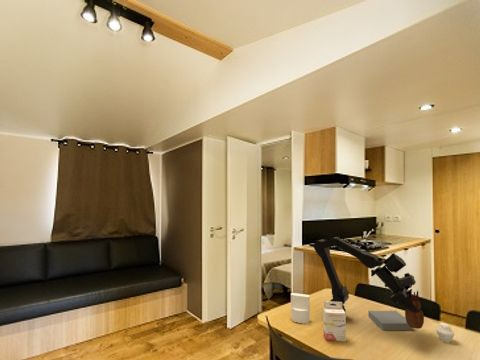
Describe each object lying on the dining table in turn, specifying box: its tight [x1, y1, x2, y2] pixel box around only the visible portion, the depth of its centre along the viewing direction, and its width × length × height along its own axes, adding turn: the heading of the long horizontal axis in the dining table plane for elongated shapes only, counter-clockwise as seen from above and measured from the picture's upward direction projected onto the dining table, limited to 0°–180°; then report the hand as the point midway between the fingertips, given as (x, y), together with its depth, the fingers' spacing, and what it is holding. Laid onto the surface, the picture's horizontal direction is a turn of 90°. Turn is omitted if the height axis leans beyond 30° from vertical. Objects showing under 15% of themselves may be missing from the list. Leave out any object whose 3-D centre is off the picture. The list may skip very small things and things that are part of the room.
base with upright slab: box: [290, 292, 311, 324], centre depth 137 cm, size 9×9×12 cm
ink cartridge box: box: [322, 300, 347, 342], centre depth 119 cm, size 9×5×15 cm, turn 84°
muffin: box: [436, 322, 455, 343], centre depth 117 cm, size 6×6×7 cm
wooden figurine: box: [404, 290, 425, 330], centre depth 118 cm, size 7×6×15 cm
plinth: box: [367, 310, 414, 331], centre depth 133 cm, size 14×14×3 cm
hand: (417, 310), depth 118 cm, fingers closed on wooden figurine, 4 cm apart
